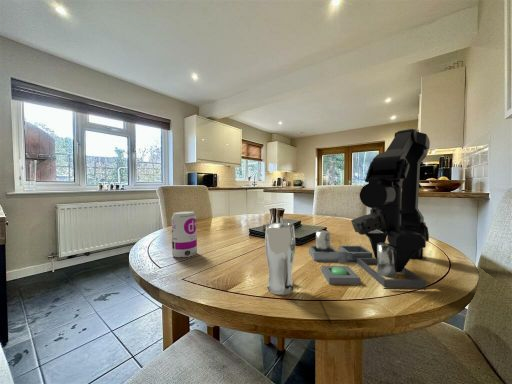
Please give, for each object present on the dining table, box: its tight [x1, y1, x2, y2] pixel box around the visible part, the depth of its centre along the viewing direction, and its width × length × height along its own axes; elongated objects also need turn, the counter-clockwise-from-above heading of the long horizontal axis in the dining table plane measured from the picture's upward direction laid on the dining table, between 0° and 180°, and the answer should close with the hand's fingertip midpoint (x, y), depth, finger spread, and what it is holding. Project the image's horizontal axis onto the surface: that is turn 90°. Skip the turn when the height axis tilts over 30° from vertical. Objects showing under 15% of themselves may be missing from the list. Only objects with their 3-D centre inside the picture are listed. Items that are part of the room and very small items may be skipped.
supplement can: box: [171, 210, 198, 258], centre depth 73 cm, size 8×8×15 cm
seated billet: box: [315, 230, 331, 252], centre depth 67 cm, size 4×4×8 cm
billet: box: [376, 242, 398, 279], centre depth 54 cm, size 4×4×8 cm
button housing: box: [321, 265, 361, 285], centre depth 52 cm, size 7×7×2 cm
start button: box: [332, 267, 347, 275], centre depth 52 cm, size 4×4×2 cm
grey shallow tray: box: [308, 245, 373, 264], centre depth 67 cm, size 17×10×4 cm, turn 87°
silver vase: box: [264, 222, 296, 296], centre depth 49 cm, size 7×7×15 cm
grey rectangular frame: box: [356, 257, 427, 291], centre depth 54 cm, size 9×14×2 cm, turn 177°
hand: (387, 264), depth 54 cm, fingers open, 9 cm apart
